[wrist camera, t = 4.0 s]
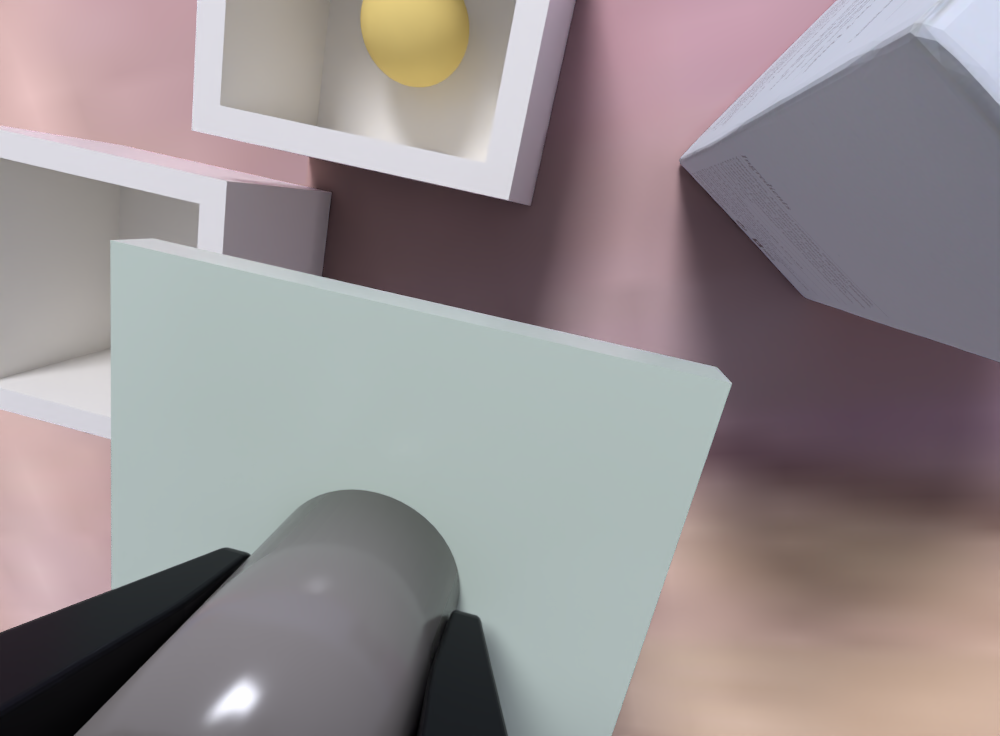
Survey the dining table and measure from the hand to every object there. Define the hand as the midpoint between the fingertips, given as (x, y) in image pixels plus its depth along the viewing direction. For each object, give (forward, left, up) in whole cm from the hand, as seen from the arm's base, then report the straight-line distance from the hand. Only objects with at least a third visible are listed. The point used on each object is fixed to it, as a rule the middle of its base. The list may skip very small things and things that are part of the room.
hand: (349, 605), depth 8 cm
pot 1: (+1, +11, -13) cm, 17 cm away
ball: (+10, +4, -12) cm, 16 cm away
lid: (0, 0, -1) cm, 1 cm away
